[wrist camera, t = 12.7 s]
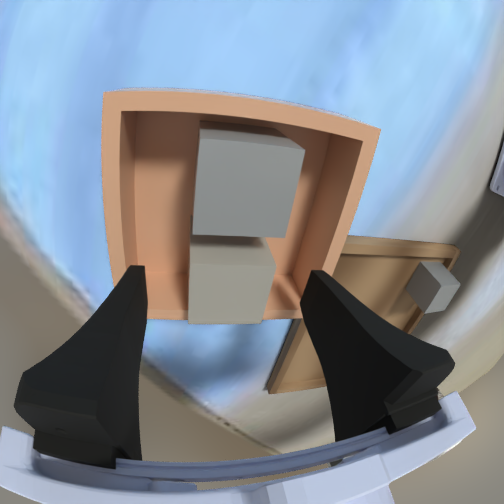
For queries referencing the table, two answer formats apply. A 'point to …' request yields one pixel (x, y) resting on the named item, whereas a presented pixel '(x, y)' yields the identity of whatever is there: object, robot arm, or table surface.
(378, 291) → the tray
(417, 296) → the plain gray cube
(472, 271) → the table surface
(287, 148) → the matte grey cube
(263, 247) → the pale grey cube block
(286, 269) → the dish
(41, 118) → the table surface
